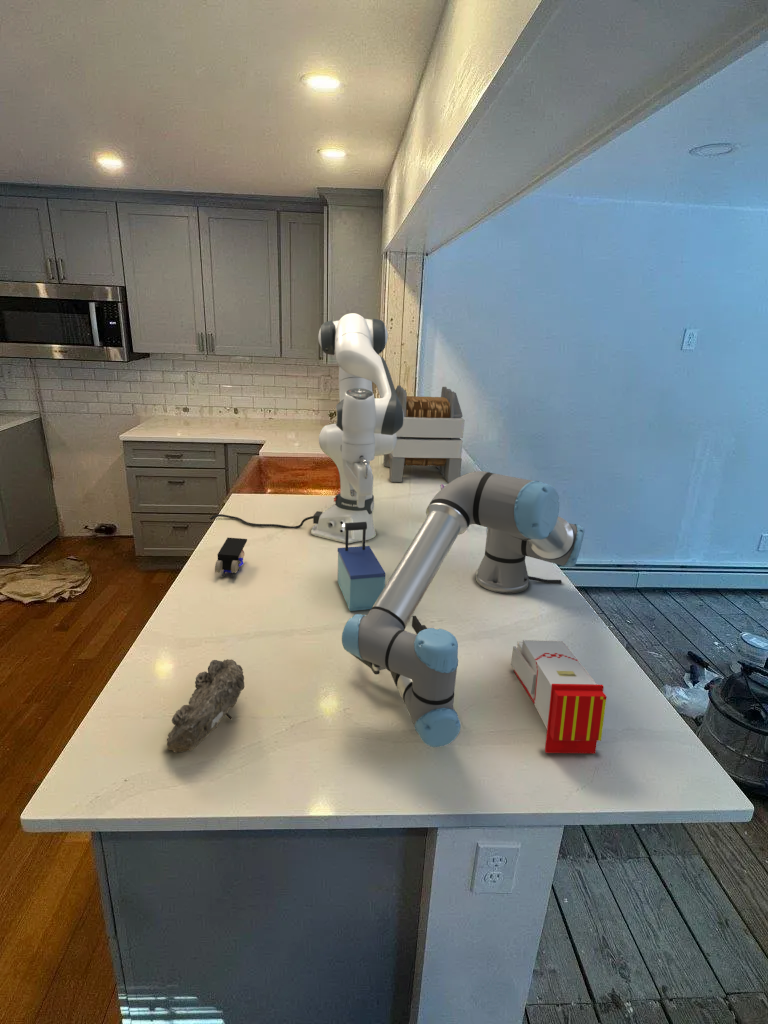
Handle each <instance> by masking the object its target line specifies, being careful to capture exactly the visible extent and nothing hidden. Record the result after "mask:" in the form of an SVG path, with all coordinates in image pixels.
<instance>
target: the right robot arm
mask: <svg viewBox="0 0 768 1024" xmlns="http://www.w3.org/2000/svg"><path fill="white" fill-rule="evenodd" d="M559 500H560V495H559V492H558V490H557V489H556V488H555V486H553V485H551V484H549V483H545V482H543V481H540V480H532V479H526V478H521V477H516V476H510V475H505V474H499V473H494V472H489V471H484V470H483V471H481V470H478V471H477V470H476V471H471V472H467V473H466V474H463V475H460V477H458V478H456V479H455V480H453V481H451V482H450V483H447V484H445V485H444V488H443V489H441V488H440V490H439V491H438V492H437V493H436V494H435V495H434V496H433V497H432V499H431V501H430V502H429V504H428V505H427V507H426V509H425V515H426V518H425V520H424V521H423V523H422V525H420V528H419V529H418V531H417V533H416V535H415V536H414V537H413V539H412V541H411V543H410V544H409V546H408V548H407V550H406V551H405V553H404V554H403V556H402V557H401V559H400V561H399V562H398V564H397V566H396V567H395V569H394V571H393V573H392V574H391V576H390V578H389V579H388V580H387V582H386V583H385V587H384V589H383V591H382V592H381V594H380V595H379V597H378V599H377V600H376V602H375V604H374V605H373V607H372V608H371V609H369V611H368V613H367V614H361V613H356V614H353V616H351V617H350V618H349V619H348V620H347V621H346V622H345V624H344V627H343V630H342V633H341V644H342V647H343V649H344V650H345V651H346V652H347V653H348V654H350V655H352V656H353V657H354V658H356V659H357V660H358V661H360V662H361V663H363V664H364V665H365V666H367V667H368V668H369V669H371V671H372V673H373V674H374V675H379V674H380V673H381V672H380V671H383V670H386V671H388V672H389V673H390V675H391V678H392V680H393V682H394V684H395V687H396V689H398V693H399V695H400V697H401V699H402V701H403V704H404V706H405V708H406V710H407V712H408V714H409V717H410V720H411V722H412V724H413V726H414V730H415V731H416V733H417V734H418V736H419V738H420V739H421V741H422V742H423V744H425V745H427V746H428V747H431V748H440V747H446V746H448V745H449V744H451V743H452V742H454V741H455V740H456V739H457V737H458V735H459V734H460V731H461V728H462V727H461V726H462V725H461V720H460V718H459V715H458V712H457V711H456V710H455V707H454V702H455V688H456V680H457V679H456V678H457V670H458V666H459V642H458V639H457V638H456V636H455V635H454V634H452V633H451V632H450V631H448V630H446V629H443V628H438V629H437V628H434V627H427V626H426V625H425V624H421V622H420V621H419V619H418V616H416V615H414V614H415V611H416V610H417V608H418V606H419V604H420V603H421V601H422V599H423V598H424V595H425V594H426V592H427V591H428V588H429V587H430V585H431V584H432V582H433V580H434V579H435V576H436V575H437V572H438V571H439V569H440V568H441V566H442V564H443V563H444V561H445V559H446V557H447V555H448V553H449V551H450V550H451V548H452V546H453V544H454V543H455V542H456V539H457V538H458V536H460V535H463V534H465V533H466V532H467V530H468V528H469V526H471V525H476V526H481V527H485V528H487V529H486V538H485V547H484V555H483V557H482V559H481V561H480V563H479V565H478V568H477V569H476V571H475V581H476V583H477V584H478V585H479V586H480V587H482V588H484V589H486V590H488V591H491V592H494V593H499V594H518V593H521V592H524V591H525V590H527V588H528V587H529V582H530V581H535V582H539V583H546V584H562V579H544V578H541V577H536V576H530V575H529V574H528V569H527V564H526V558H527V557H529V558H532V559H536V560H539V561H544V562H547V563H551V564H555V565H559V566H561V567H568V568H573V567H575V566H576V564H577V561H578V559H579V556H580V552H581V548H582V545H583V541H584V536H585V531H586V530H585V527H583V525H579V524H578V523H570V522H568V521H567V520H566V519H565V518H563V517H561V516H559V513H560V501H559ZM410 620H411V628H412V629H413V631H414V632H415V633H413V632H409V631H407V630H406V627H407V625H408V624H409V622H410Z"/></svg>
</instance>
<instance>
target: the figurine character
mask: <svg viewBox="0 0 768 1024" xmlns="http://www.w3.org/2000/svg"><path fill="white" fill-rule="evenodd" d="M247 542H248V538H240V537H226V539H225V541H224V543H223V544H222V546H221V547H220V549H219V551H218V552H217V560H216V562H215V564H214V572H215V573H221V577H222V578H224V577H225V576H226V574H227V573H230V574H231V573H232V574H231V578H234V577H235V575H236V573H237V572H239V571H240V567H242V566H243V565H244V564H245V562H244V558H245V551H244V547H245V546H246V544H247Z"/></svg>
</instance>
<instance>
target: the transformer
mask: <svg viewBox="0 0 768 1024" xmlns="http://www.w3.org/2000/svg"><path fill="white" fill-rule="evenodd" d="M395 391H396V394H397V397H398V399H399V401H400V403H401V405H402V409H403V413H404V421H403V426H402V428H401V429H400V430H399V431H397V432H396V436H397V442H396V446H395V448H394V450H393V451H392V452H391V453H390V454H385V455H383V466H384V467H388V468H389V475H388V476H389V477H388V478H389V480H390V482H391V483H402V482H403V475H404V469H405V466H406V467H407V466H411V467H412V466H413V467H415V466H416V467H417V466H418V467H436V468H437V470H438V469H439V473H440V474H441V475H443V478H444V479H445V481H446V482H447V484H449V483H450V482H451V481H453V480H455V479H456V478H458V477H460V476H461V472H462V461H463V460H462V453H463V442H464V441H463V440H462V439H463V438H464V431H465V430H464V429H465V419H464V418H463V411H462V408H461V405H460V402H459V398H458V395H457V392H455V391H453V390H452V389H451V388H447V386H442V387H441V392H440V393H441V394H440V396H415V395H414V396H413V395H412V396H411V395H407V394H408V393H407V390H406V389H404V388H403V387H402V385H399V384H398V385H397V386H396V388H395Z"/></svg>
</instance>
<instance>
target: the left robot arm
mask: <svg viewBox="0 0 768 1024" xmlns="http://www.w3.org/2000/svg"><path fill="white" fill-rule="evenodd" d="M385 324H386V323H385V322H384V321H383V320H382V319H378V318H371V319H370V318H365V317H364V316H362V315H360V314H359V313H354V312H351V313H346V314H344V315H343V316H342V317H340V319H339V320H329V321H325V322H323V323H322V324H321V325H320V328H319V331H318V335H317V336H318V337H317V339H318V344H319V346H320V349H321V351H322V352H323V353H324V354H325V355H330V356H335V359H336V363H337V364H338V393H339V394H338V395H339V396H338V397H339V402H338V403H337V404H336V406H335V409H336V423H330V424H326V425H323V427H322V429H321V430H320V432H319V435H318V445H319V447H320V450H321V451H322V452H323V453H324V454H325V455H326V456H328V457H329V458H330V459H331V460H332V462H333V463H334V464H335V466H336V467H337V470H338V474H339V483H340V484H339V485H340V488H339V489H340V490H339V491H338V492H337V494H336V495H335V496H334V497H333V502H334V504H333V505H331V506H329V507H328V508H326V509H325V510H323V511H320V510H319V511H318V510H317V511H316V512H315V513H314V514H313V515H312V516H307V517H305V518H304V519H302V521H301V522H300V524H298V525H295V526H290V525H283V524H277V523H254V522H249V521H246V520H244V519H242V518H240V517H237V516H232V515H228V514H221V513H219V514H214V515H211V516H210V518H209V520H214V519H215V518H219V517H221V518H228V519H232V520H237V521H240V522H241V523H243V524H245V525H248V526H251V527H252V526H253V527H274V528H275V527H276V528H284V529H300V528H301V527H302V526H303V525H304V523H305V522H307V521H308V520H312V523H313V524H314V525H313V526H312V528H311V530H310V533H311V536H315V537H319V538H323V539H326V540H330V541H336V542H339V543H343V544H345V538H346V531H345V523H353V522H366V523H367V529H366V537H365V541H368V540H372V539H373V538H375V537H376V535H377V532H376V528H375V523H374V513H373V512H374V509H375V496H374V474H373V468H372V466H371V465H370V464H371V463H370V462H372V461H374V460H375V457H380V456H384V455H385V454H390V453H391V452H392V451H393V450H394V448H395V446H396V442H397V436H396V432H397V431H399V430H400V429H401V428H402V426H403V421H404V413H403V409H402V405H401V403H400V401H399V399H398V397H397V394H396V391H395V390H396V388H395V385H394V382H393V379H392V376H391V372H390V370H389V367H388V363H387V362H386V360H385V358H384V357H382V356H381V355H379V354H381V353H382V352H383V351H384V350H385V348H386V346H387V343H388V339H389V334H388V329H387V327H386V325H385ZM373 383H374V385H375V386H376V388H377V391H378V394H379V397H380V398H379V397H375V394H374V391H373ZM362 539H363V530H351V531H349V532H348V544H352V543H357V542H362Z"/></svg>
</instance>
